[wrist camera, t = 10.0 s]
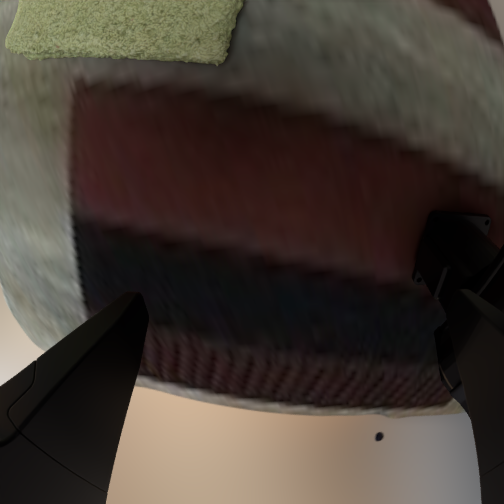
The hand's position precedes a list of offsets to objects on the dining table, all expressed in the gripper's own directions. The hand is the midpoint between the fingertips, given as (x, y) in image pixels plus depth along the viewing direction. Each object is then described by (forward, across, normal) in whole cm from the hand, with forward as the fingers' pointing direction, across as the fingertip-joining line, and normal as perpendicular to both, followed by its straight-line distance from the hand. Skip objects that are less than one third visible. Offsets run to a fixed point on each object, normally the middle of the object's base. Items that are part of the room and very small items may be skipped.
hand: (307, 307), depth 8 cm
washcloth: (+14, +10, -14) cm, 22 cm away
